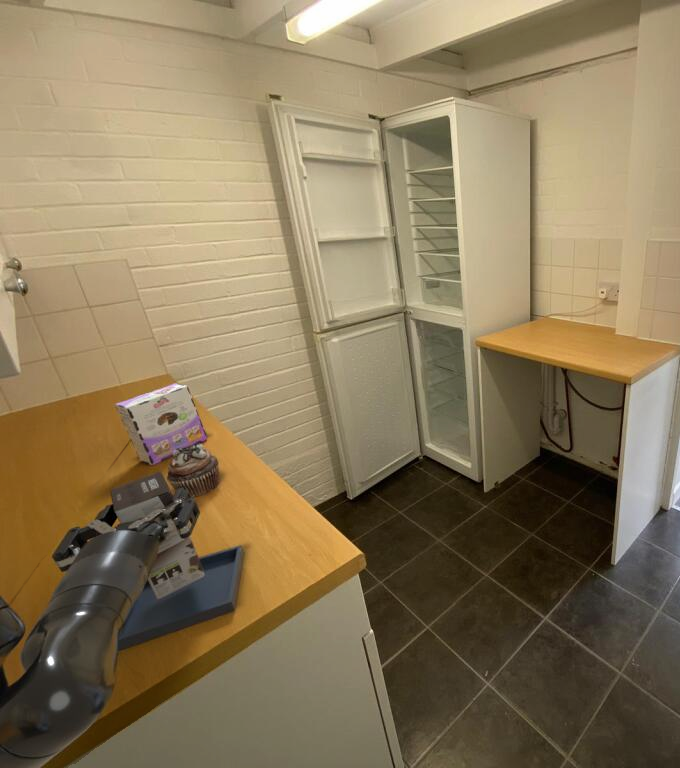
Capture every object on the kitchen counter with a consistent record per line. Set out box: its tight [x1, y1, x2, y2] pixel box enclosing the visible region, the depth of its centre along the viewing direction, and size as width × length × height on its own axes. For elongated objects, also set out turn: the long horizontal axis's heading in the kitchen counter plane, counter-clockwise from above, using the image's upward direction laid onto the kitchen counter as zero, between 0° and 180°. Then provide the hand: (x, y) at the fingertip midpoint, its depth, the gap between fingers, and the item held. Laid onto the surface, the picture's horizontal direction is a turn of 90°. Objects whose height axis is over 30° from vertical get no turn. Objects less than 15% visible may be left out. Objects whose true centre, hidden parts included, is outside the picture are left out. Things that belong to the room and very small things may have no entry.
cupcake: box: [166, 443, 221, 498], centre depth 94 cm, size 10×10×10 cm
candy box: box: [114, 382, 209, 466], centre depth 108 cm, size 14×6×16 cm, turn 155°
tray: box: [118, 544, 245, 652], centre depth 68 cm, size 15×13×2 cm
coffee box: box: [109, 471, 205, 599], centre depth 64 cm, size 9×6×16 cm
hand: (148, 500), depth 63 cm, fingers closed on coffee box, 8 cm apart
